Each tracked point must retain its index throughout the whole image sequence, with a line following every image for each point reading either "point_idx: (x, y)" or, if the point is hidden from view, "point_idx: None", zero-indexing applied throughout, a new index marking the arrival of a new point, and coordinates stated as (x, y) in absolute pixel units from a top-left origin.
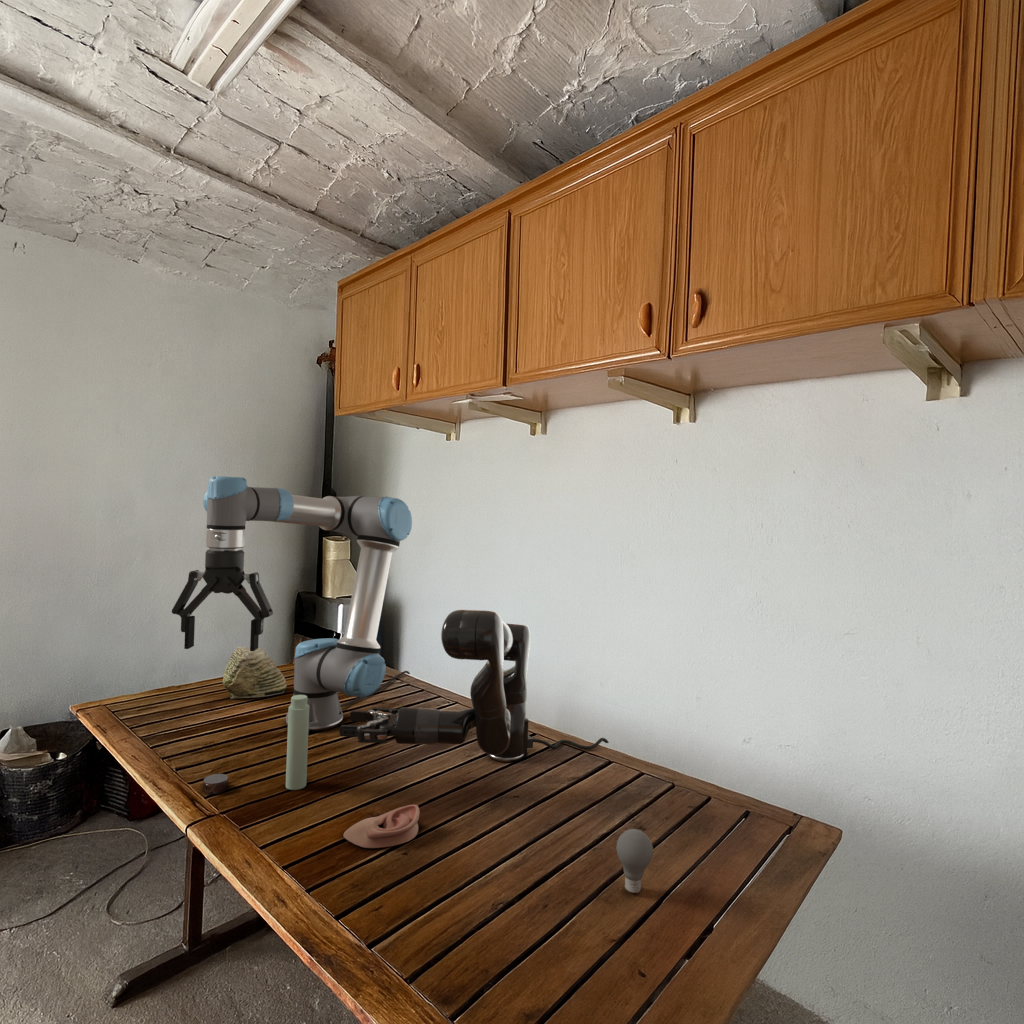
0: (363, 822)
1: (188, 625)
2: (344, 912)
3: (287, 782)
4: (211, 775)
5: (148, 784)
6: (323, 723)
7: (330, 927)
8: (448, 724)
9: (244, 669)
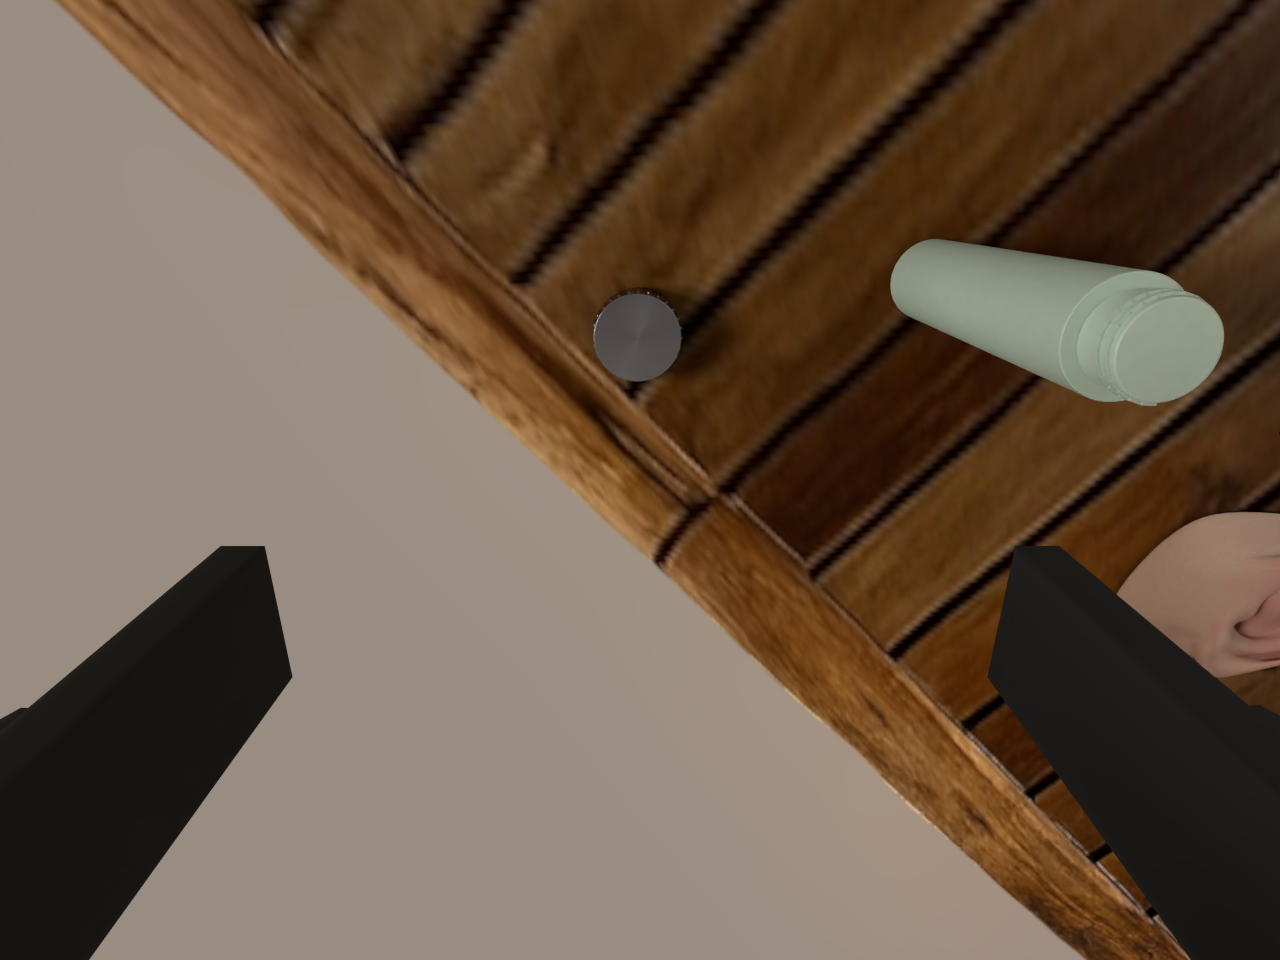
0: (1188, 593)
1: (104, 932)
2: (1107, 846)
3: (909, 314)
4: (608, 312)
5: (371, 301)
6: None
7: (1081, 878)
8: None
9: None
